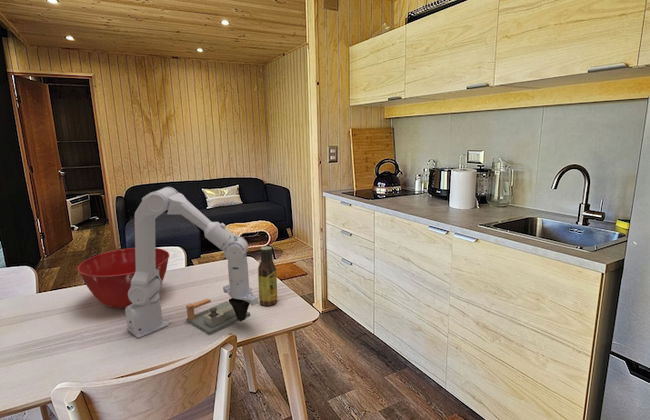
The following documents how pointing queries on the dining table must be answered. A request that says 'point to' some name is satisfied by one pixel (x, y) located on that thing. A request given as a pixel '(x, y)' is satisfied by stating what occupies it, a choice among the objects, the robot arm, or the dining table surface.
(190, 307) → the bracket
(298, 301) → the dining table surface
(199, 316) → the base
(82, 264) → the mixing bowl
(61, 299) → the dining table surface
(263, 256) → the sauce bottle
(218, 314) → the latch
